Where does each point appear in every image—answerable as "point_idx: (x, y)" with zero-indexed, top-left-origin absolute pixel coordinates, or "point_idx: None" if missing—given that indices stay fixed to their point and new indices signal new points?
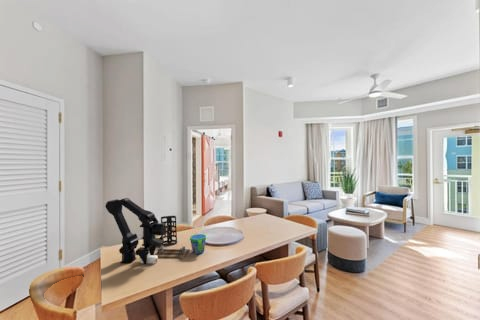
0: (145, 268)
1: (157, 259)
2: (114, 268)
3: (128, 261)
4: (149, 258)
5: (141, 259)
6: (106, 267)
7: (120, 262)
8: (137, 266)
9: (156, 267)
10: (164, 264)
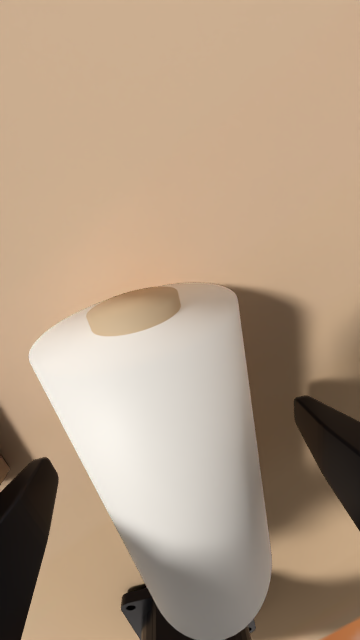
0: (353, 330)
1: (73, 318)
2: (345, 588)
3: None
4: (250, 448)
5: (268, 541)
6: (328, 630)
7: (254, 627)
8: (298, 463)
9: (316, 142)
10: (148, 9)
